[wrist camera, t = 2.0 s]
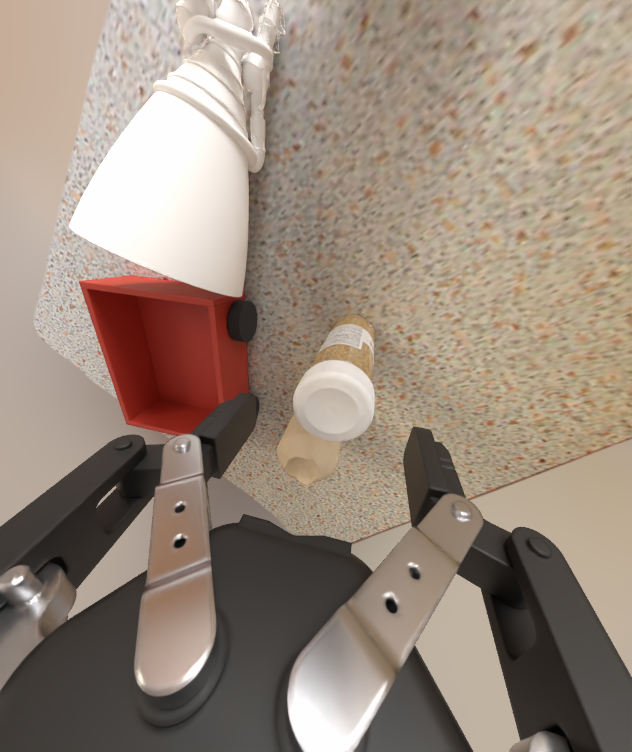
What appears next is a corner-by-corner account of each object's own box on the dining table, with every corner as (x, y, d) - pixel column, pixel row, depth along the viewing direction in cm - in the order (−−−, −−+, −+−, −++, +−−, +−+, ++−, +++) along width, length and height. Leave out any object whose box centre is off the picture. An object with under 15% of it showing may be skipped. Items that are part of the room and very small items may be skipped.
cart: (131, 275, 27) (78, 281, 23) (244, 290, 26) (213, 300, 21) (161, 399, 35) (126, 424, 30) (250, 418, 33) (228, 447, 28)
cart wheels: (122, 279, 28) (86, 284, 24) (256, 297, 26) (238, 305, 22) (152, 394, 35) (127, 410, 31) (259, 416, 33) (245, 436, 29)
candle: (350, 424, 30) (340, 495, 21) (307, 426, 32) (280, 494, 23) (342, 383, 28) (327, 445, 19) (295, 388, 29) (262, 447, 21)
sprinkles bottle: (372, 359, 26) (368, 451, 14) (328, 354, 27) (291, 438, 15) (378, 315, 24) (380, 379, 12) (330, 311, 25) (289, 369, 13)
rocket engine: (120, -433, 7) (44, 232, 12) (375, 14, 14) (260, 310, 19) (132, -85, 15) (84, 221, 20) (289, 85, 23) (225, 279, 28)
